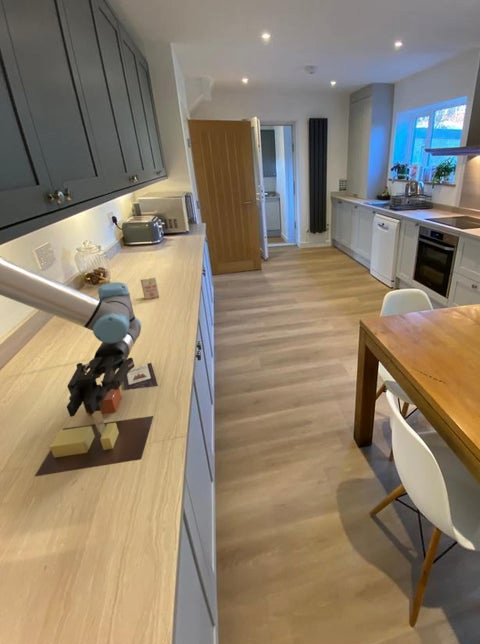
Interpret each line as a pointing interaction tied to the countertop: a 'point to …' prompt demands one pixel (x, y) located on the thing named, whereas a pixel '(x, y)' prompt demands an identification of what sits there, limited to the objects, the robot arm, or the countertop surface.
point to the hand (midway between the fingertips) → (80, 410)
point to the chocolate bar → (140, 377)
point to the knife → (86, 389)
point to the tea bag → (150, 288)
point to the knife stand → (110, 402)
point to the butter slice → (109, 436)
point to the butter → (72, 441)
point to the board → (124, 449)
